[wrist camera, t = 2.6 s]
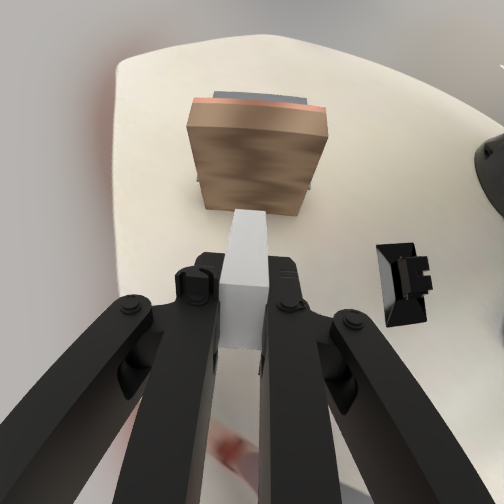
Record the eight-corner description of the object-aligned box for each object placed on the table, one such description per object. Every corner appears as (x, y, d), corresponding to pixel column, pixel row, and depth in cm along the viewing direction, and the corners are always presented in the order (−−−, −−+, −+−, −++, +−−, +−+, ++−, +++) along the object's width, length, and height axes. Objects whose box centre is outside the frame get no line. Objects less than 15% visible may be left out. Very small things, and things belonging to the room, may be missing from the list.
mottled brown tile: (297, 192, 34) (325, 107, 21) (296, 215, 33) (328, 136, 20) (209, 185, 34) (193, 97, 21) (205, 209, 33) (186, 126, 20)
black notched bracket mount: (430, 332, 30) (452, 328, 26) (377, 341, 30) (396, 339, 26) (414, 231, 34) (432, 217, 30) (363, 233, 34) (378, 217, 29)
